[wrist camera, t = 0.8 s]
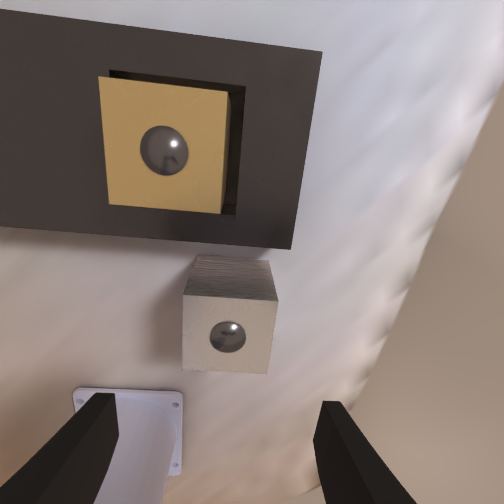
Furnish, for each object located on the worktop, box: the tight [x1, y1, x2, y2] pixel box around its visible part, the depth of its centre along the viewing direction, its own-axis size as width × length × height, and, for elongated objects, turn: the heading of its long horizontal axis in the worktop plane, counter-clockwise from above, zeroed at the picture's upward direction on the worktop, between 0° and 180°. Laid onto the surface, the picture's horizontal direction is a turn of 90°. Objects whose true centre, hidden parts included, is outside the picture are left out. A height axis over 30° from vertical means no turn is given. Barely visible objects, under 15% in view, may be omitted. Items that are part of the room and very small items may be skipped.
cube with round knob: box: [182, 255, 278, 374], centre depth 16 cm, size 4×4×5 cm
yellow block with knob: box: [98, 76, 232, 214], centre depth 13 cm, size 4×4×5 cm
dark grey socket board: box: [0, 9, 323, 250], centre depth 14 cm, size 9×24×2 cm, turn 84°
